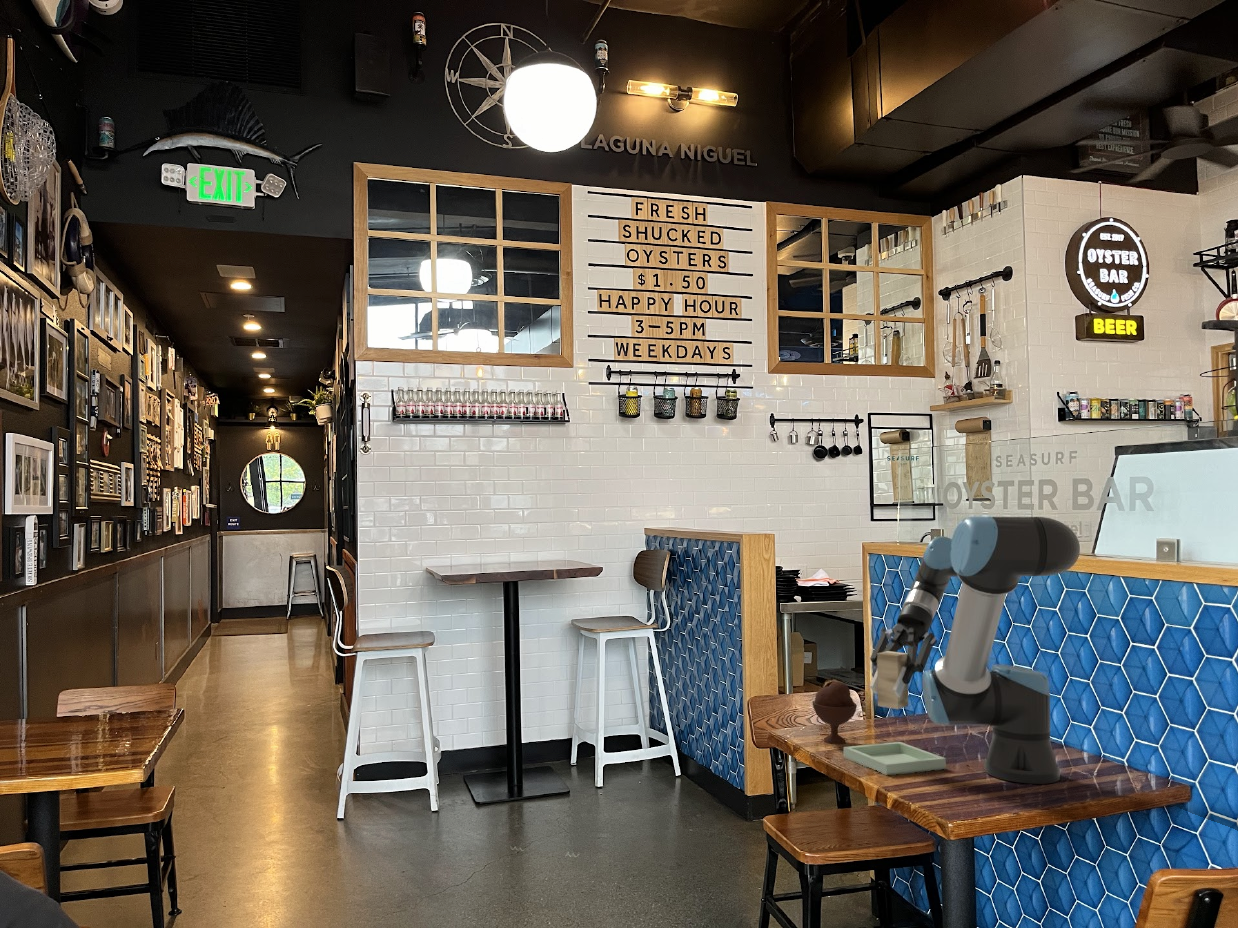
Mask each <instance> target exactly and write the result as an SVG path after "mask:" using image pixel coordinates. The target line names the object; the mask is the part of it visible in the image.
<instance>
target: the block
mask: <svg viewBox="0 0 1238 928" xmlns="http://www.w3.org/2000/svg"><path fill="white" fill-rule="evenodd" d="M907 655H908V652H906V653H905V652H898V651H897V652H891V651H886V652H881V653H877V676H878V693H877V707H882V708H888V709H894V710H899V709H903V708H906V707H909V684H905V687H904V689H903V692H902V694H901V696H900V697H897V696H896V694H895V692H894V690H893V688H894V686H895V683H896V681H897V678H898V676H899V674H900V671H901V669H902V666H903V667H906V668H907V666H906V664H905V663H907Z"/></svg>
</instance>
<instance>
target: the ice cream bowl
mask: <svg viewBox="0 0 1238 928" xmlns="http://www.w3.org/2000/svg"><path fill="white" fill-rule="evenodd" d="M811 704H812V708H813V709H814V712H815V714H816V716H817V717H818V718H819V719H820V720H821V721H822V722H824V723H825V724H827V725H829V726H830V734H829V735H827V736H824V737H823V742H824V743H827V744H831V745H842V744H841V743H843V744H846V743H845V742H846V739H845V738H843V737H842V736H841V735H839V727H840V726H841V725H843V724H845V723H847V722H849V721H850V720H851V719H852V718H853V717H854V716H855V713H856V712H857V707H858V704H856V702H854V699H853V698H852V697H851V690H850V688H849V686H848V685H847V684H846V683H844V682H843V681H833V682H831V683H830V684H829V685H828V686H825V687H824V686H823V687H822V688H820V689H819V690H818V691H817V692H816V694H815V697H814V700H812V701H811ZM839 743H840V744H839Z"/></svg>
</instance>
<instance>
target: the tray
mask: <svg viewBox="0 0 1238 928" xmlns="http://www.w3.org/2000/svg"><path fill="white" fill-rule="evenodd" d="M843 759H846V760H848V761H850V762H853V763H856V764H858V765H860V766H862V765H863V766H862V767H864V768H867V767H869V768H872V769H874V770H877V771H878V772H877V773H879V772H881V773H882V775H883V774H885V775H884V776H886V775H890V776H897V775H896V774H899V775H905V774H915V772H917V773H923V772H924V773H925V771H926V772H932V771H931V770H935V771H941V770H942V769H944V770H946V769H947V760H946V757H943V756H940V755H938V754H934V753H932V752H929V751H926V750H923V749H921V748H919V747H915V746H912V745H909V744H908V743H904V742H901V741H893V742H885V743H882V742H881V743H874V744H873V743H871V744H864V745H852V746H850V745H849V746H844V747H843ZM869 768H868V769H869ZM872 769H871V770H872ZM874 770H873V771H874ZM942 771H943V770H942ZM881 773H880V774H881Z"/></svg>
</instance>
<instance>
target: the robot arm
mask: <svg viewBox="0 0 1238 928" xmlns="http://www.w3.org/2000/svg"><path fill="white" fill-rule="evenodd" d="M1080 553H1081V546H1080V540H1079V539H1078V537H1077V535H1076V533H1075V532H1074V531H1073V530H1072V529H1071V528H1070V527H1069V526H1067V524H1065V523H1063V522H1062V521H1059V520H1056V519H1055V518H1050V517H1044V516H991V515H980V516H969V517H965V518H964V519H962V520H961V521H960V522H959V523H958V524H957V526H956V527H955V529H954V532H953V535H952V538H949V537H948V536H945V535H944V536H936V537H935V538H933V539H931V540H930V541H929V543H928V545H927V546H926V548H925V550H924V552H923V555H922V559H921V562H920V564H919V567H918V570H917V572H916V575H915V576H914V580H913V582H912V585H911V587H910V590H909V592H908V593H907V596H906V597H905V601H904V602H903V604H902V608H901V609H900V611H899V614H898V617H897V621H896V624H895V625H894V626H893V627H892V628H891V629H890V628H889V629H886V627H882V628H881V629H880V636H879V638H878V640H877V642H876V645H874V646H875V647H874V649H873V651H872V653H871V656H870V658H869V659H870V661H871V663H872V665H873V667H874V668H873V670H872V673H871V676H872V679H871V680H872V681H871V683H870V684H869V687H870V689H871V691H872V692H873V694H875V695H878V676H877V653H881V652H886V651H891V652H898V651H899V650H901V649H902V648H903V647H907V653H908V655H907V663H905V664H906V666H907V668H906V667H903V666H902V669H901V671H900V674H899V676H898V678H897V681H896V683H895V686H894V688H893V690H894V692H895V694H896V696H897V697H900V696H901V694H902V692H903V689H904V687H905V684H908V685H909V684H910V683H911V680H912V678H913V676H914V674H915V673H920V674H922V673H923V674H922V679H921V680H922V681H921V682H922V683H921V685H922V692H923V693H922V694H923V701H924V705H925V709H926V713H927V715H928V717H929V719H930V720H931V722H933V723H935V724H936V725H945V726H982V727H983V726H985V727H986V726H989V727H991V726H992V738H991V741H990V744H989V747H988V753H987V756H985V759H984V772H985V773H986V774H987V775H990V776H991V777H994V778H997V779H1000V780H1004V781H1008V782H1014V783H1015V782H1016V783H1021V784H1022V783H1023V784H1032V785H1033V784H1034V785H1037V784H1039V785H1041V784H1042V785H1045V784H1053V783H1056V782H1058V781H1059V780H1060V779H1061V772H1060V770H1061V769H1060V766H1059V764H1058V763H1057V759H1056V755H1055V752H1054V748H1053V746H1052V743H1051V718H1050V717H1051V713H1050V712H1051V702H1050V701H1051V693H1050V682H1049V679H1048V677H1047V676H1046V674H1044V673H1042V672H1040V671H1037V670H1033V669H1031V668H1030V669H1029V668H1025V667H1020V666H1015V665H1009V664H999V663H998V664H996V663H995V664H992V665H991V668H990V670H989V669H988V665H989V660H990V658H991V657H990V656H991V653H992V649H993V646H994V642H995V641H994V640H995V638H996V635H997V631H998V627H999V624H1000V619H1001V615H1002V612H1003V609H1004V604H1005V600H1006V596H1007V594H1010V593H1011V592H1013V591H1015V590H1016V588H1017V587H1018V583H1019V580H1020V577H1047V576H1053V575H1058V574H1061V573H1065V572H1066V571H1068V570H1070V569H1071V568H1072V567H1074V565H1075V564H1076V563H1077V561H1078V559H1079V557H1080ZM951 578H958V579H959V580H960V581H961V586H960V592H959V594H958V599H957V602H956V603H957V604H956V606H955V607H956V608H955V612H954V618H953V620H952V625H951V630H950V633H949V638H948V642H947V646H946V647H947V648H946V652H945V655H943V656H942V657H941V658H939V659H938V660H937V661H936V663H935V666H934V670H932V669H928V670H925V668H926V664H927V663H928V659H929V657H930V654H931V651H932V650H933V649H932V648H933V647H934V646H935V645H936V644H937V642H938V640H937V637H936V636H935V634H934V633H933V632H930V633H929V630H930V629H931V626H932V623H933V619H934V618H935V616H936V613H937V611H938V608H939V606H940V602H941V600H942V598H943V596H944V594H945V591H946V589H947V587H948V584H949V582H950V580H951ZM921 642H922V644H921V647H920V649H919V644H920V643H921ZM917 653H918V654H917ZM924 670H925V671H924Z"/></svg>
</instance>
